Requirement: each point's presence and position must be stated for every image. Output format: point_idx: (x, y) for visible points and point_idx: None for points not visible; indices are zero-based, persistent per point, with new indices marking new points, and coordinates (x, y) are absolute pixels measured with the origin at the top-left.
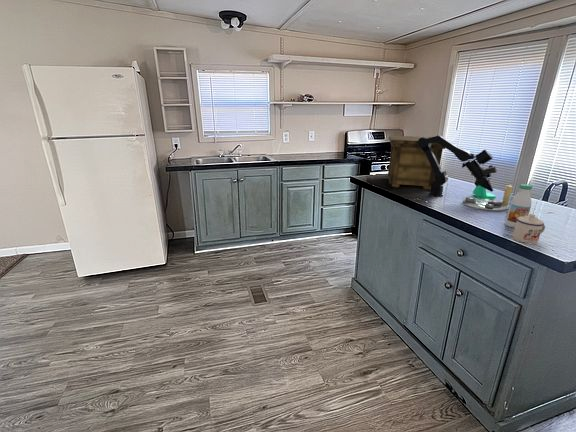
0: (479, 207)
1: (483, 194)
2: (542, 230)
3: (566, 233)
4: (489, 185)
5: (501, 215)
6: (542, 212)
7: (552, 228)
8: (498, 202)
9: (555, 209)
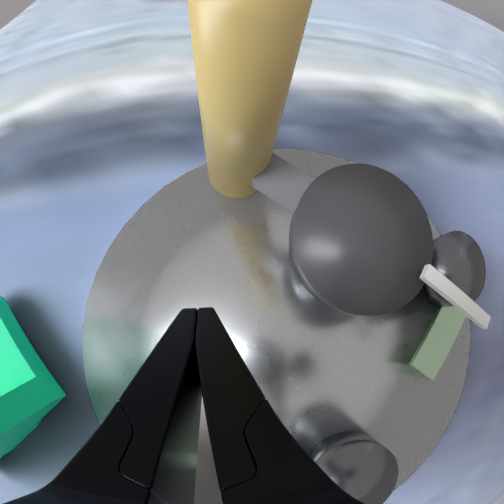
0: (469, 338)
1: (35, 413)
2: None
3: (446, 7)
4: (280, 425)
5: (471, 180)
6: (183, 10)
7: (439, 21)
8: (378, 201)
9: (76, 4)
